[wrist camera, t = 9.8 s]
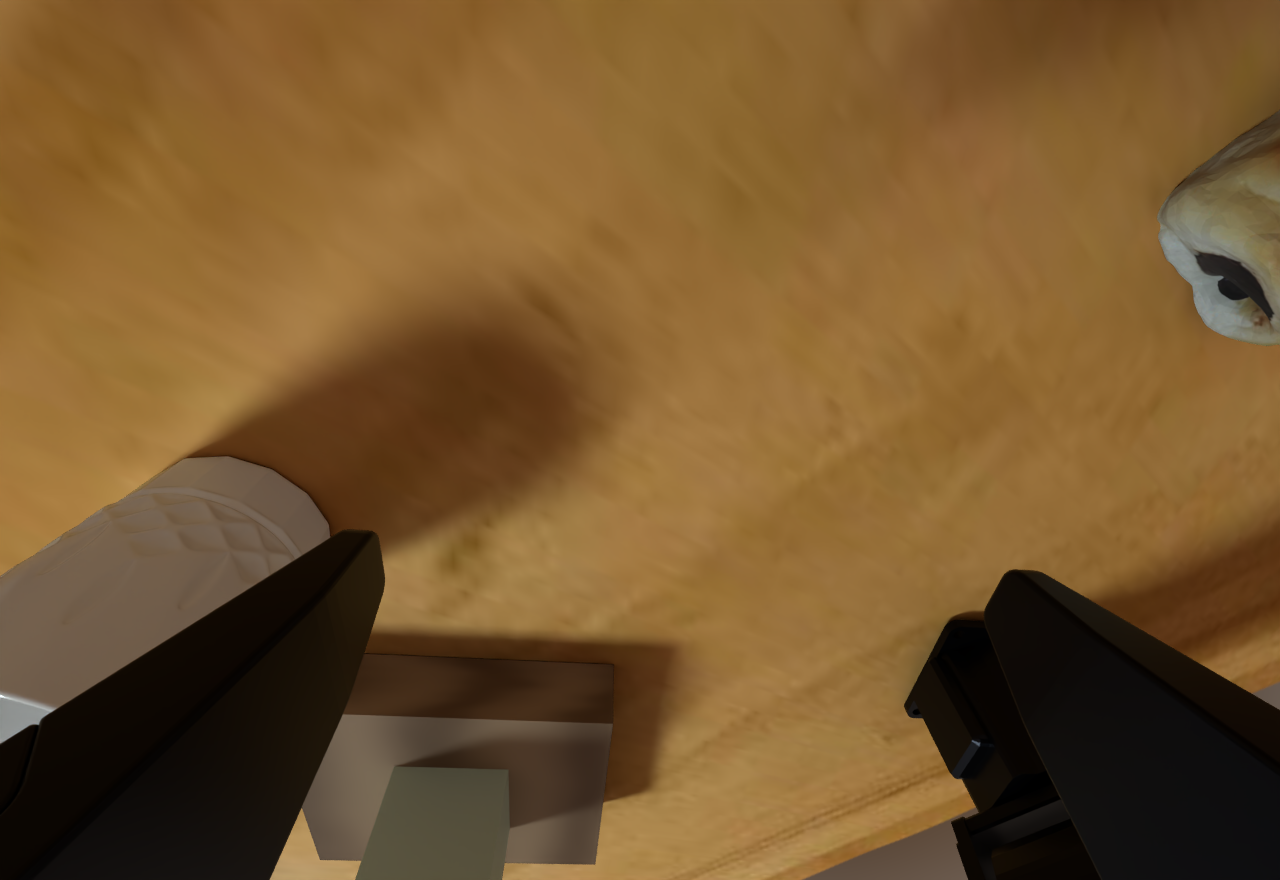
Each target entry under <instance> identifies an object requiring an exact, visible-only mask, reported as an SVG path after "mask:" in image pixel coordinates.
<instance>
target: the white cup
mask: <svg viewBox="0 0 1280 880" xmlns="http://www.w3.org/2000/svg"><path fill="white" fill-rule="evenodd" d="M329 538H330V530H329V524H328V522H327V521H326V519H325V518H324V517H323V515H322V514H321V512H320V511H319V509H318V508H317V506H316V505H315V504H314V502H313V501H312V499H311V498H310V496H309V495H308V494H307V493H306V492H304V491H303V490H301V489H300V488H298V487H297V486H296V485H294V484H293V483H291V482H290V481H288V480H287V479H285V478H284V477H282V476H281V475H280V474H278V473H277V472H275V471H274V470H272V469H269V468H266V467H263V466H259V465H256V464H253V463H249V462H246V461H243V460H239V459H236V458H233V457H229V456H220V457H201V458H185V459H183V460H181V461H179V462H177V463H176V464H174V465H172V466H171V467H169V468H167V469H165V470H164V471H162V472H160V473H159V474H157V475H155V476H154V477H152V478H151V479H149V480H148V481H146V482H145V483H144V484H142V485H141V486H139V487H138V488H137V489H135V490H134V491H132V492H131V493H130V494H128V495H127V496H126V497H124V498H123V499H121V500H119V501H118V502H116V503H113V504H110V505H107V506H105V507H103V508H101V509H100V510H98V511H97V512H95V513H94V514H93V515H91V516H90V517H88V518H87V519H86V520H84V521H83V522H82V523H80V524H79V525H78V526H76V527H74V528H72V529H70V530H69V531H67V532H65V533H64V534H62V535H61V536H59V537H58V538H56V539H55V540H54V541H52V542H51V543H49V544H48V545H47V546H45V547H44V548H43V549H41V550H40V551H39V552H37V553H36V554H35V555H33V556H31V557H29V558H28V559H26V560H24V561H22V562H21V563H19V564H17V565H16V566H14V567H13V568H11V569H10V570H8V571H7V572H6V573H4V574H3V575H1V576H0V743H2V742H4V741H5V740H7V739H8V738H10V737H12V736H13V735H15V734H16V733H18V732H20V731H21V730H23V729H24V728H26V727H28V726H29V725H32V724H37V725H39V722H40V720H41V719H42V718H43V717H44V716H46V715H47V714H49V713H50V712H52V711H54V710H55V709H57V708H58V707H60V706H62V705H63V704H65V703H66V702H68V701H70V700H71V699H73V698H74V697H76V696H78V695H79V694H81V693H82V692H84V691H86V690H87V689H89V688H90V687H92V686H94V685H95V684H97V683H98V682H100V681H102V680H103V679H105V678H106V677H108V676H110V675H111V674H113V673H114V672H116V671H118V670H119V669H121V668H122V667H124V666H126V665H127V664H129V663H130V662H132V661H134V660H135V659H137V658H138V657H140V656H142V655H143V654H145V653H146V652H148V651H150V650H151V649H153V648H154V647H156V646H158V645H159V644H161V643H162V642H164V641H166V640H167V639H169V638H170V637H172V636H174V635H175V634H177V633H178V632H180V631H182V630H183V629H185V628H186V627H188V626H190V625H191V624H193V623H194V622H196V621H198V620H199V619H201V618H202V617H204V616H206V615H207V614H209V613H210V612H212V611H214V610H215V609H217V608H218V607H220V606H222V605H223V604H225V603H226V602H228V601H230V600H231V599H233V598H234V597H236V596H238V595H239V594H241V593H242V592H244V591H246V590H247V589H249V588H250V587H252V586H254V585H255V584H257V583H258V582H260V581H262V580H263V579H265V578H266V577H268V576H270V575H271V574H273V573H274V572H276V571H278V570H279V569H281V568H282V567H284V566H285V565H287V564H289V563H290V562H292V561H293V560H295V559H297V558H298V557H300V556H301V555H303V554H305V553H306V552H308V551H309V550H311V549H313V548H314V547H316V546H317V545H319V544H321V543H322V542H324V541H325V540H327V539H329Z"/></svg>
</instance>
